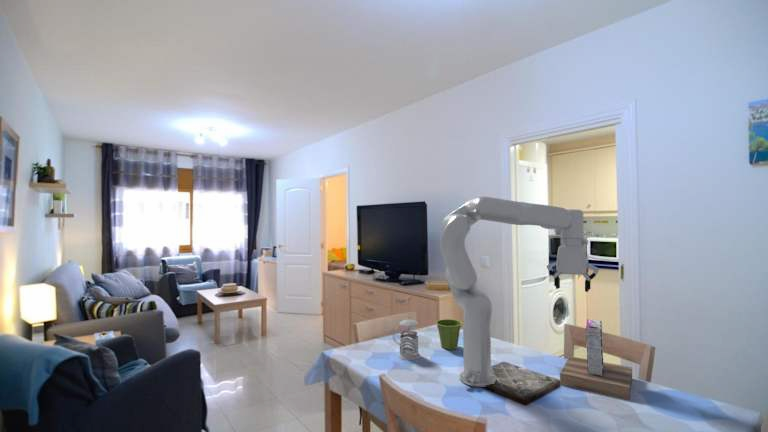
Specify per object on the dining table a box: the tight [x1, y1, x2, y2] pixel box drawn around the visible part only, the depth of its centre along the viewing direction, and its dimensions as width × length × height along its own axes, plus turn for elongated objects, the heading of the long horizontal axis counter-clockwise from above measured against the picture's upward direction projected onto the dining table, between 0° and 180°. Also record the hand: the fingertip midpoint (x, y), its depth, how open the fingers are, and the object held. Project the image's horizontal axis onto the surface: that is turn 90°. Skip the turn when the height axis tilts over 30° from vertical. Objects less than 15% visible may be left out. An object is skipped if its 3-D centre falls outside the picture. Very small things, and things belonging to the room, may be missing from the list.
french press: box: [392, 296, 421, 361], centre depth 159 cm, size 10×12×25 cm
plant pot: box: [435, 318, 463, 351], centre depth 169 cm, size 12×12×11 cm
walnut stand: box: [559, 355, 633, 401], centre depth 130 cm, size 20×20×4 cm
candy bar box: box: [585, 318, 604, 376], centre depth 131 cm, size 11×5×16 cm, turn 150°
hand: (572, 289), depth 136 cm, fingers open, 9 cm apart
